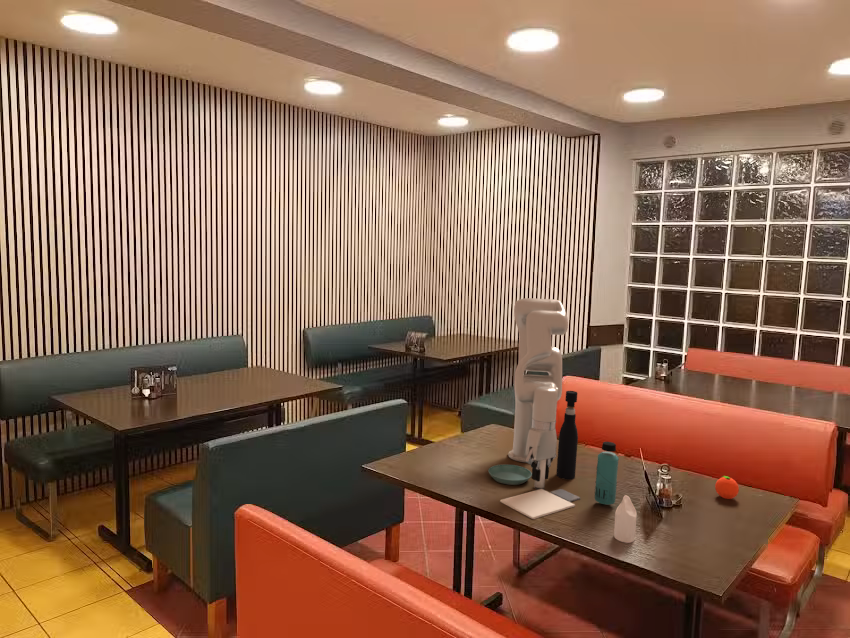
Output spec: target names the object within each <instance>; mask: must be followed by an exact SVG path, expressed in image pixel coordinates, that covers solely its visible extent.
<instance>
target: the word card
mask: <svg viewBox="0 0 850 638" xmlns="http://www.w3.org/2000/svg"><path fill="white" fill-rule="evenodd" d="M550 493H552V494H554V495H556V496H558V497H560V498H562V499H564V500H566V501H568V502H571V503H572V502H574V501H578V500H581V497H580V496H578V495H577V494H576V495H575V494H574V493H571V492H570V491H567V490H565V489H563V488H559V489H556V490H555V489H554V490H552V491H551V490H550Z"/></svg>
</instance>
